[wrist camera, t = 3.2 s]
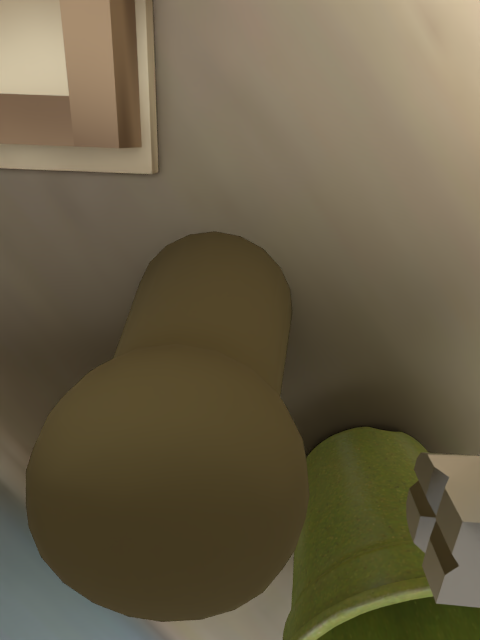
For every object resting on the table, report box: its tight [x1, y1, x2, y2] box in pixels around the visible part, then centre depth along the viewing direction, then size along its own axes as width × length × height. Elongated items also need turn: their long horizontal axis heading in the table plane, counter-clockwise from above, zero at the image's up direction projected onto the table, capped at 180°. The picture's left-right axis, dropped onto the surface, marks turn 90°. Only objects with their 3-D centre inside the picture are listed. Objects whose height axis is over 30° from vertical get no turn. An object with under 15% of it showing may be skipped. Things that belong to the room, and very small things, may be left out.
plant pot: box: [283, 427, 480, 640], centre depth 16 cm, size 9×9×9 cm
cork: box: [26, 232, 310, 622], centre depth 12 cm, size 6×6×11 cm
